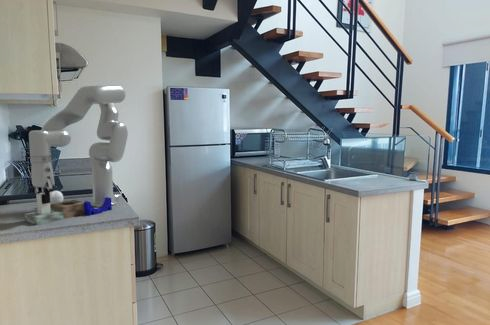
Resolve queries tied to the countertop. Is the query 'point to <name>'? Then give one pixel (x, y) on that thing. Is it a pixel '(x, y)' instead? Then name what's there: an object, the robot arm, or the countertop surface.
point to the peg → (42, 206)
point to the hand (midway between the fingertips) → (43, 202)
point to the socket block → (57, 212)
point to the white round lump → (56, 197)
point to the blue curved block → (92, 211)
